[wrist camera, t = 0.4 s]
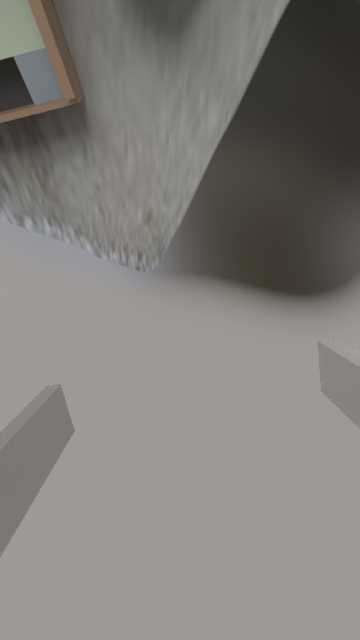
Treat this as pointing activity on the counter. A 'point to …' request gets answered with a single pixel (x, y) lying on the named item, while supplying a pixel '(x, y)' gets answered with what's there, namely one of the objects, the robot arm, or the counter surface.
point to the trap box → (34, 61)
